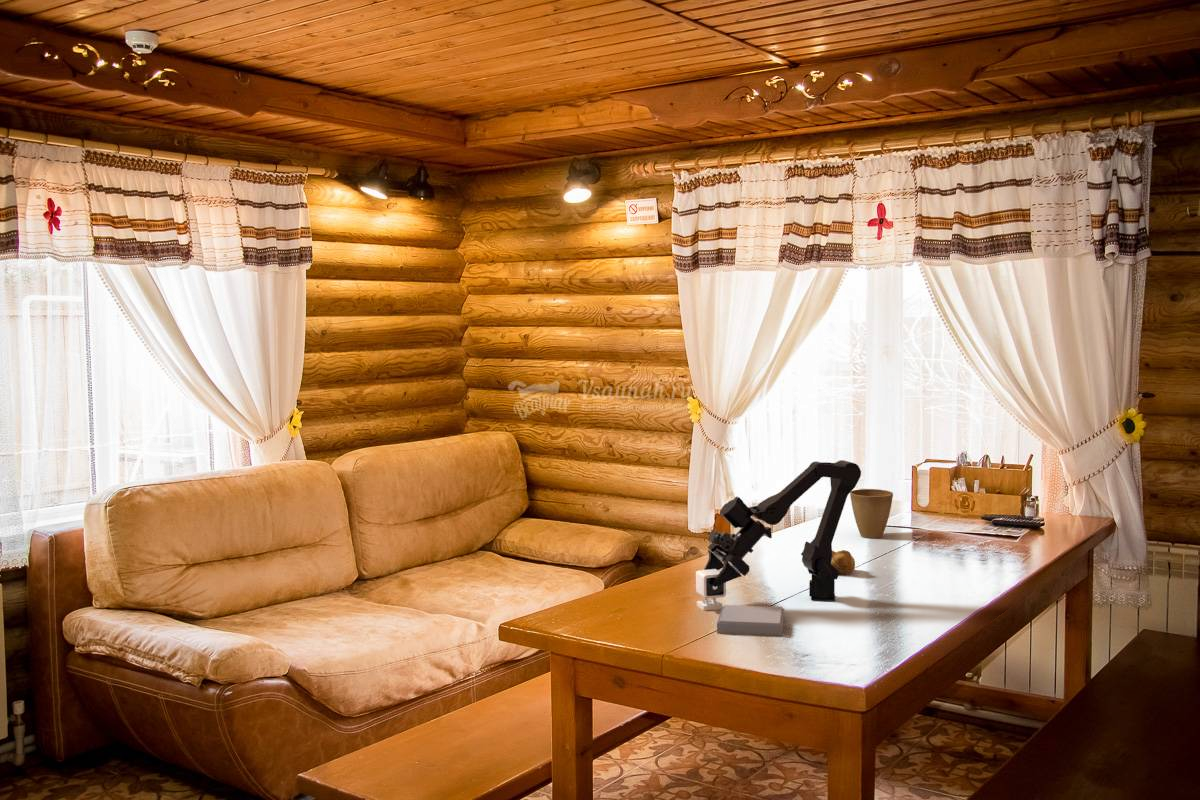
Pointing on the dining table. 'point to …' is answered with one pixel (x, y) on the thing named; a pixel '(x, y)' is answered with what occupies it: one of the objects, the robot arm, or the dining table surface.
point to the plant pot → (871, 511)
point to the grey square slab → (751, 620)
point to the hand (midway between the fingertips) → (707, 581)
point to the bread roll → (843, 562)
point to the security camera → (709, 589)
